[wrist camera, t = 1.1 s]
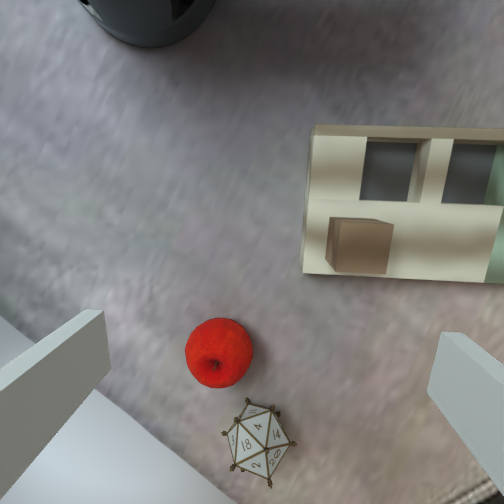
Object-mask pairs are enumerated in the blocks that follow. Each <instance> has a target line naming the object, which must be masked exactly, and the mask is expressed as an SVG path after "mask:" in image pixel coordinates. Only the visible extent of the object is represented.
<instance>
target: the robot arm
mask: <svg viewBox="0 0 504 504" xmlns="http://www.w3.org/2000/svg"><path fill="white" fill-rule="evenodd" d="M78 1H79V3H80V4H81V5H82V7H83V8H84V9H85V10H86V11H87V12H88V13H89V14H90V15H91V16H92V17H93V18H94V19H95V20H96V21H97V22H98V23H99V24H100V25H101V26H102V27H103V28H104V29H105V30H107V31H108V32H109V33H110V34H112V35H113V36H115V37H116V38H118V39H120V40H122V41H124V42H126V43H128V44H131V45H135V46H139V47H147V48H155V47H162V46H167V45H170V44H173V43H175V42H177V41H179V40H181V39H183V38H185V37H186V36H187V35H189V34H190V33H191V32H192V31H194V30H195V29H196V28H197V27H198V26H199V25H200V23H201V22H202V21H203V20H204V18H205V17H206V16H207V14H208V12H209V11H210V9H211V7H212V5H213V3H214V1H215V0H78ZM110 369H111V363H110V356H109V348H108V340H107V332H106V324H105V316H104V310H88V309H85V310H84V311H82V312H81V313H79V314H78V315H77V316H75V317H74V318H72V319H71V320H69V321H68V322H67V323H65V324H64V325H62V326H61V327H59V328H58V329H57V330H55V331H54V332H52V333H51V334H49V335H48V336H46V337H45V338H44V339H42V340H41V341H39V342H38V343H36V344H35V345H34V346H32V347H31V348H29V349H28V350H26V351H25V352H24V353H22V354H21V355H19V356H18V357H16V358H15V359H14V360H12V361H11V362H9V363H8V364H7V365H5V366H4V367H2V368H1V369H0V500H1V499H2V497H3V496H4V495H5V494H6V492H7V491H8V490H9V489H10V488H11V487H12V485H13V484H14V483H15V482H16V481H17V480H18V478H19V477H20V476H21V475H22V474H23V472H24V471H25V470H26V469H27V468H28V467H29V465H30V464H31V463H32V462H33V461H34V459H35V458H36V457H37V456H38V455H39V453H40V452H41V451H42V450H43V449H44V447H45V446H46V445H47V444H48V443H49V442H50V440H51V439H52V438H53V437H54V436H55V435H56V433H57V432H58V431H59V430H60V428H61V427H62V426H63V425H64V424H65V423H66V421H67V420H68V419H69V418H70V416H71V415H72V414H73V413H74V412H75V411H76V409H77V408H78V407H79V406H80V405H81V404H82V403H83V401H84V400H85V399H86V398H87V397H88V395H89V394H90V393H91V392H92V391H93V389H94V388H95V387H96V386H97V385H98V384H99V382H100V381H101V380H102V379H103V378H104V376H105V375H106V374H107V373H108V372H109V370H110ZM426 392H427V394H428V395H429V396H430V398H431V399H432V400H433V402H434V403H435V404H436V406H437V407H438V408H439V410H440V411H441V412H442V414H443V415H444V416H445V418H446V419H447V420H448V422H449V423H450V425H451V426H452V427H453V429H454V430H455V431H456V433H457V434H458V435H459V437H460V438H461V439H462V441H463V442H464V443H465V445H466V446H467V447H468V449H469V450H470V451H471V453H472V454H473V455H474V457H475V458H476V459H477V461H478V462H479V464H480V465H481V466H482V468H483V469H484V470H485V472H486V473H487V474H488V476H489V477H490V478H491V480H492V481H493V482H494V484H495V485H496V486H497V488H498V489H499V490H500V492H501V493H502V494H503V496H504V365H503V364H502V363H500V362H499V361H498V360H497V359H495V358H494V357H493V356H492V355H490V354H489V353H488V352H486V351H485V350H484V349H483V348H481V347H480V346H479V345H478V344H476V343H475V342H474V341H472V340H471V339H470V338H469V337H467V336H466V335H465V334H464V333H458V332H442V331H441V335H440V339H439V343H438V347H437V351H436V355H435V359H434V363H433V367H432V371H431V375H430V379H429V383H428V387H427V391H426Z"/></svg>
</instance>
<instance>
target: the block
mask: <svg viewBox="0 0 504 504" xmlns="http://www.w3.org/2000/svg"><path fill="white" fill-rule="evenodd" d="M393 229H394V224H390V223H387V222H384V221H380V220H377V219H372V218H348V217H329V226H328V236H327V245H326V254H325V259H326V261H327V262H328V263H329V264H330V266H331V267H332V268H333V269H334V271H335V272H350V273H369V274H386V271H387V265H388V259H389V253H390V247H391V241H392V235H393Z"/></svg>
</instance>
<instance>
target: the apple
mask: <svg viewBox="0 0 504 504" xmlns="http://www.w3.org/2000/svg"><path fill="white" fill-rule="evenodd" d="M185 354H186V361H187V365H188V368H189V370H190V371H191V373H192V375H193V376H194V377H195V378H196V379H197V380H198V381H199V382H200V383H201V384H203V385H205V386H208V387H210V388H226V387H229V386H232V385H234V384H235V383H236V382H238V381H239V380H240V379H241V378H242V377H243V376H244V375H245V373H246V371H247V369H248V368H249V366H250V363H251V360H252V358H253V346H252V343H251V340H250V337H249V335H248V334H247V332H246V331H245V329H244V328H243V327H242V326H241V325H240V324H238V323H237V322H235V321H234V320H231V319H227V318H214V319H210V320H208V321H206V322H204V323H202V324H201V325H199V326H198V327H196V329H195V330H194V331H193V332H192V333H191V335H190V337H189V339H188V341H187V344H186V347H185Z"/></svg>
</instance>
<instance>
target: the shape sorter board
mask: <svg viewBox="0 0 504 504" xmlns="http://www.w3.org/2000/svg"><path fill="white" fill-rule="evenodd" d="M329 217H348V218H372V219H377V220H380V221H384V222H387V223H390V224H394V229H393V235H392V241H391V247H390V253H389V259H388V265H387V271H386V274H369V273H350V272H335V271H334V269H333V268H332V267H331V266H330V264H329V263H328V262H327V261H326V259H325V254H326V245H327V236H328V226H329ZM300 268H301V270H302V273H311V274H330V275H348V276H367V277H386V278H405V279H423V280H442V281H461V282H480V283H498V284H504V129H498V128H456V127H414V126H371V125H329V124H315V125H314V127H313V128H312V130H311V132H310V144H309V156H308V169H307V181H306V193H305V205H304V217H303V229H302V241H301V254H300Z"/></svg>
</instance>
